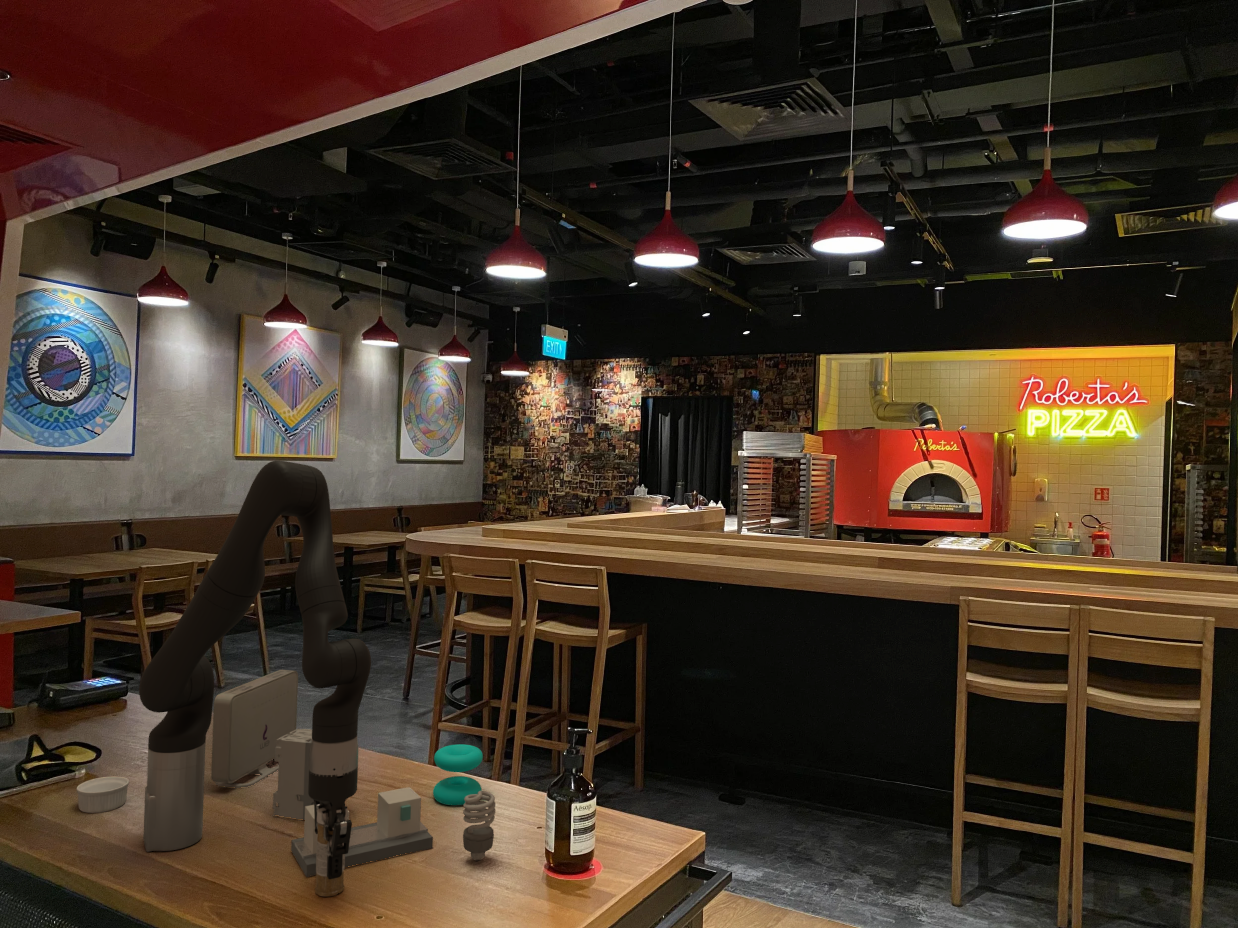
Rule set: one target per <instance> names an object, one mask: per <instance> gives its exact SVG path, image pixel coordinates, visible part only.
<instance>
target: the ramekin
mask: <svg viewBox="0 0 1238 928" xmlns="http://www.w3.org/2000/svg"><path fill="white" fill-rule="evenodd" d="M129 784H130V779H129V778H127V777H126V776H125V777H123V776H104V777H103V776H102V777H97V778H93V779H89V780H86V781H84V782H82V783H80V784H78V786H77V787H76V793H77V800H78V801H77V802H78V809H79V811H81V812H83V813H88V814H97V813H98V814H99V813H104V812H110V811H113V810H115V809H118V808H120V807H122V806H123V805H124V804H125V803H126V801H127V795H128V787H129Z"/></svg>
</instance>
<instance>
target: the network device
mask: <svg viewBox="0 0 1238 928" xmlns="http://www.w3.org/2000/svg"><path fill="white" fill-rule="evenodd" d="M298 687H299V673H298V672H297V670H290V669H289V670H288V669H278V670H276V671H274V672H271V673H268V674H266V675H264V676H261V677H258V678H257V679H253V680H251V681H249V682H246V683H243V684H241V685H238V686H236V687H233V688H231V689H228V690H226V691H223V692H221V693H218V694H217V695H216V696H215V698H214V699H213V711H212V714H213V715H212V716H213V717H212V742H211V744H212V745H211V746H212V748H211V749H212V750H211V771H210V774H211V776H210V779H211V781H212V782H214V783H215V784H216V785H218V786H217V787H219V786H225V787H224V788H226V787H235V788H234V789H236V788H241V787H248V786H251V785H254V784H255V783H257V782H259V781H260V780H262V779H264V778H265V777H267V776H268V775H270V774H272V775H274V774H275V773H274V772H276V771H277V770H278V768H279V764H278V765H276V766H275V767H271V768H270V767H268V765H267V764H268V763H270V762H271V761H275V747H277V741H276V740H277V739H279V738H280V737H282V736H284V735H286V734H287V735H289V733H290V732H292V731H294V730H296V729H297V722H298V721H297V719H298V717H297V716H298V715H297V714H298V693H299V692H298V691H299V690H298V689H299V688H298ZM280 756H281V754H278V757H280ZM273 759H274V760H273ZM277 772H278V771H277ZM277 772H276V773H277ZM273 773H274V774H273ZM251 774H260V775H261V776H260V775H258V777H256V778H255V779H252V780H251V781H249V782H246V783H237V782H236V781H238V780H239V779H241V778H243V777H245V776H247V775H251ZM267 778H268V777H267ZM264 780H265V779H264ZM262 781H263V780H262ZM259 783H260V782H259ZM215 784H214V785H215ZM257 784H258V783H257ZM216 785H215V786H216ZM254 786H255V785H254ZM251 787H252V786H251ZM248 788H249V787H248ZM241 789H242V788H241Z"/></svg>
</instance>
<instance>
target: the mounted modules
mask: <svg viewBox="0 0 1238 928" xmlns="http://www.w3.org/2000/svg"><path fill="white" fill-rule="evenodd" d="M421 810H422V797H421V796H420V794H418V793H417V792H415V790H414V789H412V788H411V787H410V786H408V787H402V788H397V789H391V790H387V791H386V790H385V791H381V792H378V794H377V815H376V817H377V819H376V822H377V826H378V827H379V828H380V829H381V831H382V832H383V833H384V834H385V835H386V836H387V838H389V837H394V836H398V835H403V834H408V833H412V832H417V831H420V822H421V817H422V816H421V812H422V811H421ZM347 820H350V811H349V810H348V817H347ZM303 837H304V842H305V843H306V845H307V846H308V848H309V849H310V851H311V853H312V854H316V851H317V837H318V834H316V833H315V815H314V805H310V806H305V821H304V826H303Z"/></svg>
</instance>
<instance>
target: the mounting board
mask: <svg viewBox="0 0 1238 928" xmlns="http://www.w3.org/2000/svg"><path fill="white" fill-rule="evenodd" d="M372 826H377V821H376V822H373V823H366V824H363V825H357V826H353V827H351V831H353V830H358V829H362V828H367V827H372ZM290 841H291V844H290V851H292V852H291V853H293V854H292V855H293V857H294V856H295V857H294V858H296V859H295V860H296V862H297V863H298V866H299V867H300V868H301V871H302V872H303V874H304V876H305V877H306V878H309V877H313V876H316V856H315V857H311V858H306V859H303V858H302V856H301V855H300V853H299V851H298V850H297V848H296V846H295V842H300V841H304V836H303V837H298V838H294V839H291V840H290ZM433 846H434V836H433V835H432V834H431V833H430V832H429V831H428V832H425V833H420V834H416V835H411V836H407V837H402V838H397V839H393V840H388V841H384V842H379V843H375V844H370V845H365V846H361V847H356V848H352V849H349V850H348V854H345V867H348V866H352V865H356V864H361V865H363V864H362V863H366V862H370V861H374V862H377V861H376V860H379V861H382V860H381V859H383V860H386V859H385V858H387V859H390V858H389V857H392V858H394V857H393V856H396V855H400V854H401V855H400V856H403V855H402V854H405V853H409V854H411V853H410V852H413V853H417V852H416V851H418V852H421V851H420V850H422V851H425V850H426V851H427V850H430V849H433ZM405 855H406V854H405ZM396 857H397V856H396ZM370 863H371V862H370ZM366 864H367V863H366ZM348 868H349V867H348Z"/></svg>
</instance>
